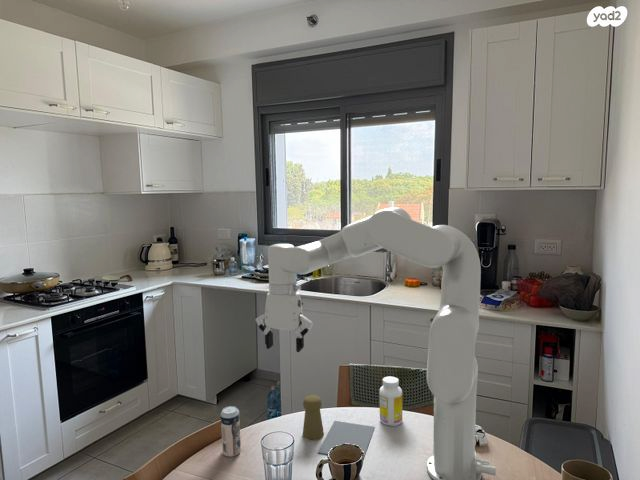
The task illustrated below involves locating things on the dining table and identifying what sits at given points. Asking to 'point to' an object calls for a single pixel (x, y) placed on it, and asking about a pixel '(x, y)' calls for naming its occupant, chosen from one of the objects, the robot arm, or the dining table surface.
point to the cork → (312, 418)
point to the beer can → (230, 431)
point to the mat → (347, 436)
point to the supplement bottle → (390, 402)
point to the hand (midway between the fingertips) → (284, 348)
